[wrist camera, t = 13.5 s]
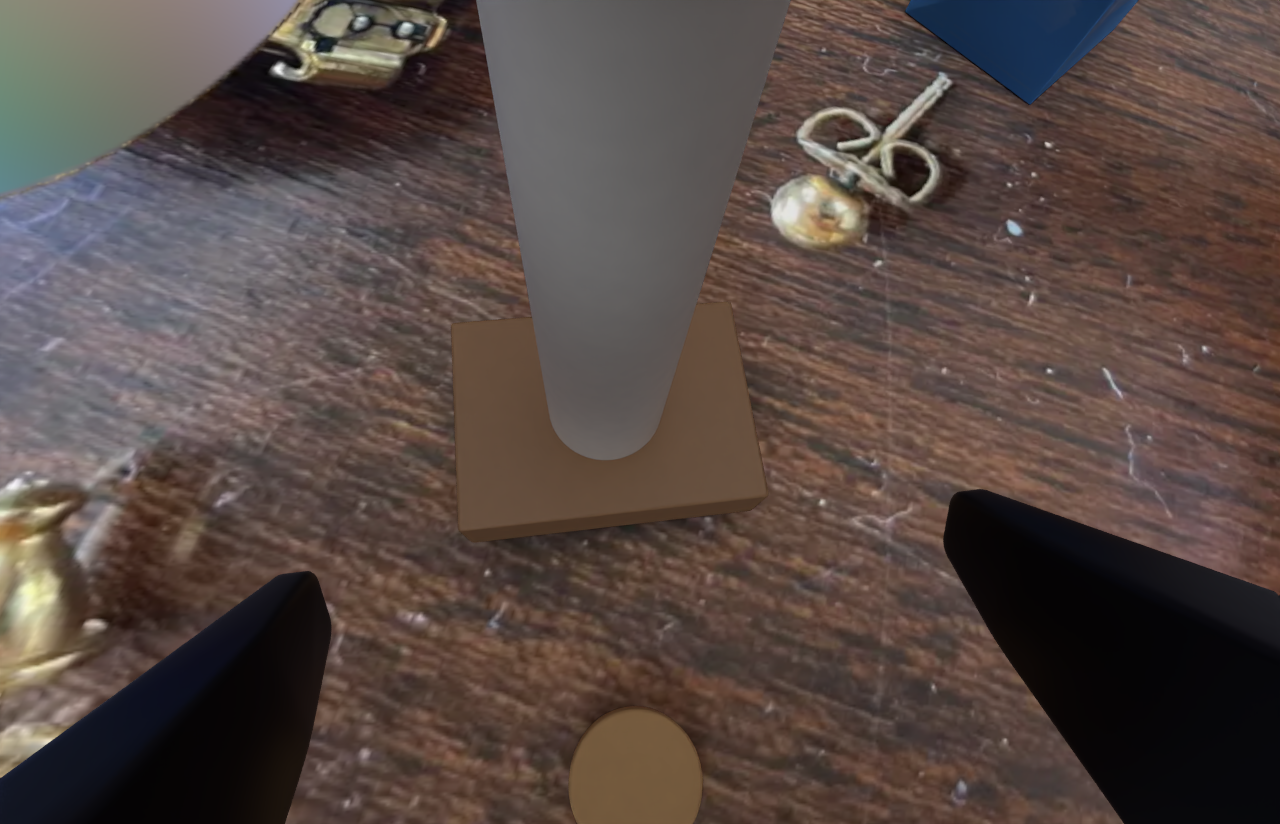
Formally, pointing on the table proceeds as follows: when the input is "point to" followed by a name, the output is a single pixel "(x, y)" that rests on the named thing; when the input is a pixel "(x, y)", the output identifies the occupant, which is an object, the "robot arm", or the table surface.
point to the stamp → (613, 269)
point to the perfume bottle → (1022, 35)
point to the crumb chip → (635, 771)
